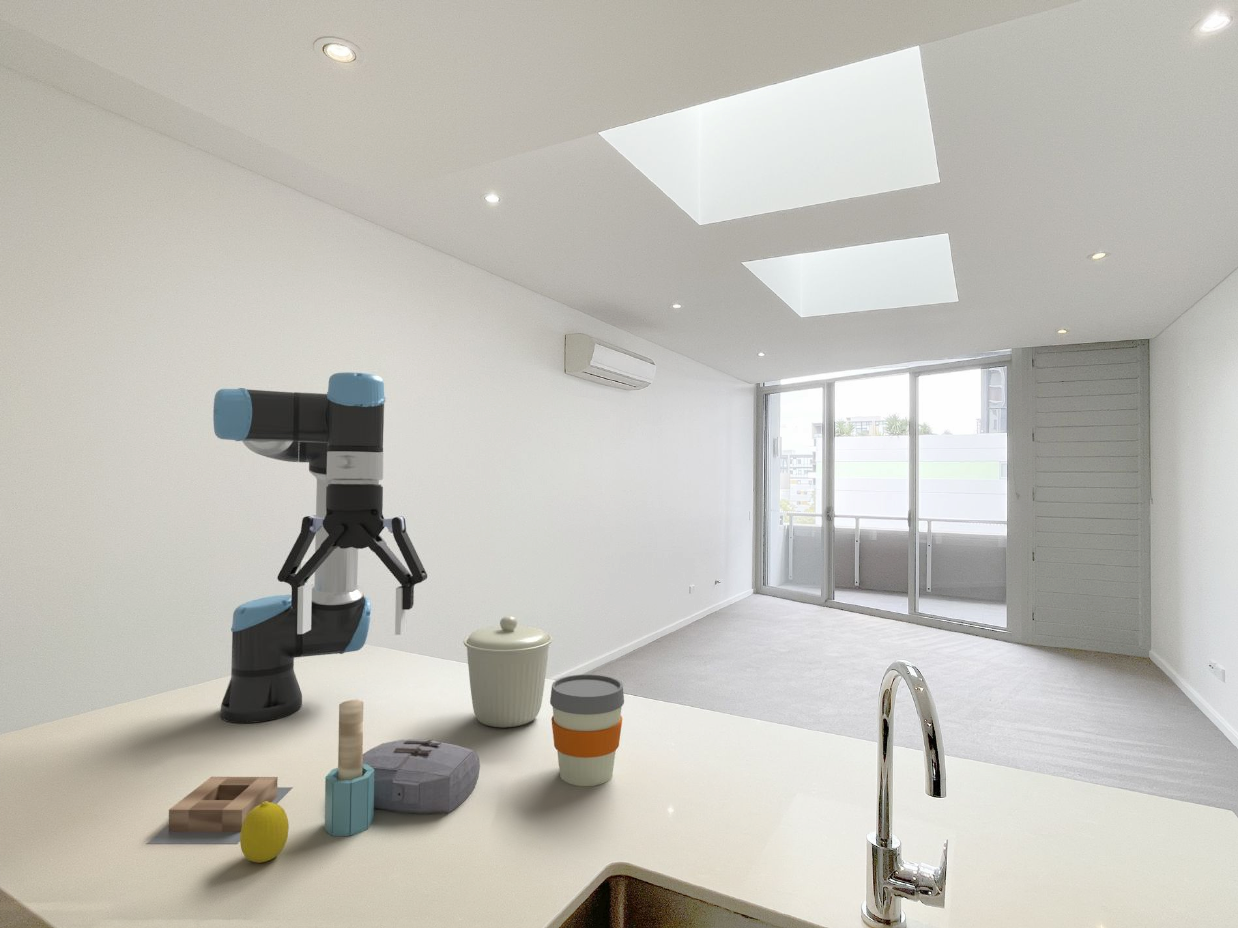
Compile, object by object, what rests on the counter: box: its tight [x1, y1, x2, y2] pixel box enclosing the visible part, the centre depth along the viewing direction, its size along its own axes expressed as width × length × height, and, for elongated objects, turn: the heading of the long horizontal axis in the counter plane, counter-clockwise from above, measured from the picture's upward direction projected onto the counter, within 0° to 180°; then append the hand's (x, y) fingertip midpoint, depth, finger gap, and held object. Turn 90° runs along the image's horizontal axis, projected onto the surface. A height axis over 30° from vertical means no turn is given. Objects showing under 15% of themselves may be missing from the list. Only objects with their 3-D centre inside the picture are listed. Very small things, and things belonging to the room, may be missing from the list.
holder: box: [168, 776, 278, 832], centre depth 98 cm, size 10×10×3 cm
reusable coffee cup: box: [549, 673, 625, 787], centre depth 114 cm, size 13×12×15 cm
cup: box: [324, 764, 375, 837], centre depth 95 cm, size 6×6×8 cm
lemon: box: [239, 801, 290, 864], centre depth 87 cm, size 6×6×8 cm
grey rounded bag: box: [362, 739, 481, 815], centre depth 105 cm, size 15×8×20 cm
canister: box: [462, 615, 553, 728], centre depth 138 cm, size 18×18×21 cm
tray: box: [145, 786, 294, 845], centre depth 98 cm, size 16×12×1 cm
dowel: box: [337, 699, 364, 780], centre depth 95 cm, size 3×3×17 cm
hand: (352, 632), depth 95 cm, fingers open, 13 cm apart
